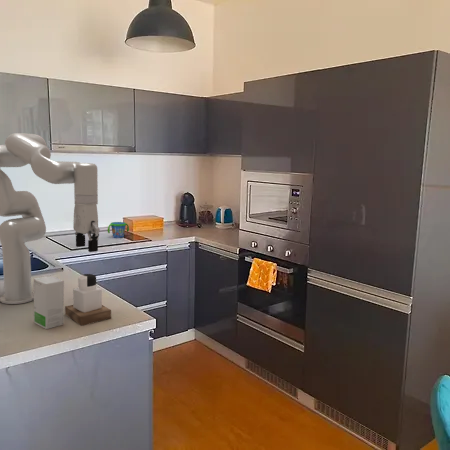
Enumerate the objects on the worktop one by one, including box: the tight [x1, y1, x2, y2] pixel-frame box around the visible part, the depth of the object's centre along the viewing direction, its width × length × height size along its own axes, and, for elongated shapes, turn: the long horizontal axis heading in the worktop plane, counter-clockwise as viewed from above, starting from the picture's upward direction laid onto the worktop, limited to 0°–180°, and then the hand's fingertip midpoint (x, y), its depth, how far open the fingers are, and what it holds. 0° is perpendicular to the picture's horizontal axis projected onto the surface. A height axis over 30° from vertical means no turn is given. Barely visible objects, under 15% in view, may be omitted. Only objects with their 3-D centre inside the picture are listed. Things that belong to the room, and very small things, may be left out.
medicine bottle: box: [72, 273, 103, 313], centre depth 151 cm, size 7×7×12 cm
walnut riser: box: [64, 304, 112, 326], centre depth 152 cm, size 13×11×3 cm
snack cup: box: [107, 221, 130, 239], centre depth 300 cm, size 16×10×10 cm
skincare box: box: [33, 274, 65, 330], centre depth 143 cm, size 8×7×16 cm
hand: (86, 248), depth 149 cm, fingers open, 9 cm apart
